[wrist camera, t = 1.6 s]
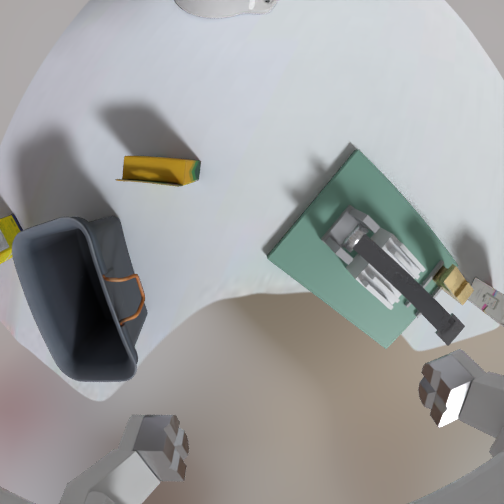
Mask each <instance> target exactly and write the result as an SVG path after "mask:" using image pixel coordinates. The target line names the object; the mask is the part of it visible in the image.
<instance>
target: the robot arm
mask: <svg viewBox="0 0 504 504" xmlns="http://www.w3.org/2000/svg"><path fill="white" fill-rule="evenodd" d="M175 1H176V3H177V4H178V5H179V6H180V7H181V8H182V9H183V10H185V11H186V12H188V13H190V14H193V15H196V16H199V17H204V18H226V17H232V16H236V15H240V14H245V13H251V14H267V13H269V12H270V11H271V10H272V9H273V7H274V6H275V5H276V3H277V2H278V1H279V0H175ZM264 1H269V3H266V2H264ZM422 374H423V375H424V377H423V379H422V380H421V382H420V383H419V389H418V390H419V397H420V400H421V402H422V404H423V405H424V407H426V408H429V409H431V412H430V416H431V417H432V419H433V420H434V422H435V423H436V425H437V426H438V427H440V426H443V425H445V424H447V423H449V422H451V421H454V420H456V419H458V420H460V421H462V422H464V423H466V424H468V425H470V426H472V427H474V428H476V429H478V430H480V431H482V432H484V433H486V434H488V435H491V436H493V437H495V438H496V440H495V442H494V443H493V445H492V446H491V448H490V451H489V452H490V453H491V455H492V456H493V458H492V459H490V460H489V461H487V462H486V463H484V464H483V465H481V466H479V467H478V468H476V469H475V470H473V471H472V472H470V473H468V474H466V475H465V476H463V477H461V478H460V479H458V480H456V481H454V482H452V483H450V484H448V485H447V486H445V487H443V488H441V489H439V490H437V491H434V492H432V493H430V494H428V495H426V496H424V497H422V498H419V499H417V500H415V501H413V502H410V503H408V504H504V375H500V374H497V373H493V372H487V373H486V372H485V371H484V370H483V369H482V368H481V367H480V366H478V364H477V363H475V362H474V360H472V359H471V358H470V357H469V356H468V355H467V354H466V353H465V352H464V351H463V350H461V349H459V350H456V351H454V352H452V353H449V354H448V355H445V356H442V357H440V358H438V359H435V360H433V361H430V362H428V363H425V364H424V366H423V368H422ZM179 424H180V421H179V420H178V418H177V416H176V415H132V416H131V417H130V418H129V420H128V423H127V426H126V428H125V431H124V433H123V436H122V439H121V441H120V444H119V447H118V449H113V450H112V451H111V452H109V453H108V454H107V455H106V456H104V457H103V458H102V459H100V460H99V461H98V462H96V463H95V464H94V465H92V466H91V467H90V468H88V469H87V470H86V471H84V472H83V473H81V474H80V475H79V476H77V477H76V478H74V479H73V480H72V481H70V482H69V483H68V484H67V486H66V488H65V490H64V493H63V495H62V498H61V500H60V503H59V504H142V503H143V501H144V500H145V499H146V498H147V497H148V496H149V495H150V494H151V492H152V491H153V490H154V489H155V488H156V487H157V486H158V484H159V483H160V481H184V480H185V473H186V467H187V466H186V464H185V463H184V461H183V460H184V459H185V458H186V457H187V456H188V453H189V444H188V438H187V435H186V433H185V431H184V430H182V429H181V428H179ZM0 504H36V503H33V502H31V501H29V500H26V499H24V498H22V497H20V496H18V495H16V494H14V493H12V492H10V491H8V490H6V489H4V488H2V487H0Z"/></svg>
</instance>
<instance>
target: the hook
mask: <svg viewBox="0 0 504 504" xmlns="http://www.w3.org/2000/svg"><path fill="white" fill-rule="evenodd" d="M432 280H433V281H434V282H435V284H436V285H437V286H438V287H440V288H441V289H442V290H444V291H445V292H446V293H447V294H449V295H450V296H451V297H453V298H454V299H455V300H456V301H458V302H459V303H460V304H462V305H463V304H464V303H465V302H466V300H467V299H468V298H469V297H470V295H471V294H472V293H473V291H474V290H473V288H472V287H471V285H470V284H469V282H467V281H466V280H465V278H464V277H463V275H462V274H461V272H460V271H459V270H458V268H457V267H456V266H455V265H453V264H452V265H451V266H450V267H449V269H447V268H446V267H444V266H442V267H441V268H440V269H439V271H438V272H437V273H436V275H435V276H434V277H433V278H432Z"/></svg>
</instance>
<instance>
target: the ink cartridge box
mask: <svg viewBox="0 0 504 504" xmlns="http://www.w3.org/2000/svg"><path fill="white" fill-rule="evenodd" d="M471 287H472V288H473V290H474V291H473V293H472V294H471V295H470V297H469V298H468V299H467V300H469V301H470V302H471V303H473V304H474V305H475V306H477V307H478V308H479V309H481V310H482V311H483V312H484V313H486V314H487V315H488V316H490V317H491V318H492V319H493V320H495V321H496V322H497V323H499V324H500V325H502V326H503V327H504V294H502V293H500V292H499V291H497V290H495V289H494V288H492V287H491V286H489V285H487V284H486V283H484V282H483V281H481V280H479V279H478V278H476V277H475V279H474V281H473V283H472V285H471Z"/></svg>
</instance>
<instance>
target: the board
mask: <svg viewBox="0 0 504 504" xmlns="http://www.w3.org/2000/svg"><path fill="white" fill-rule="evenodd" d="M359 223H361V224H362V225H363V226H364V227H365V228H366V229H367V230H368V233H367V234H366V235H367V236H368V237H369V238H370V239H372V240H373V241H374V242H375V243H376V244H377V245H378V246H379V247H381V248H382V249H383V250H384V251H385V252H386V253H387V254H388V255H389V256H390V257H392V258H393V259H394V260H395V261H396V262H397V263H398V264H399V265H400V266H401V267H402V268H403V269H404V270H405V271H406V272H408V273H409V274H410V275H411V276H412V277H413V278H414V279H415V280H416V281H417V282H418V283H419V284H420V285H421V286H422V287H423V288H424V289H425V290H426V291H427V292H428V293H429V294H430V295H431V296H432V297H433V298H435V297H436V296H437V295H438V294H439V292H440V291H441V290H442V289H441V288H440V287H438V286H437V285H436V284H435V282H434V281H433V280H432V278H433V277H434V276H435V275H436V273H437V272H438V271H439V269H440V268H441V267H442V266H444V267H446V268H447V269H449V267H450V266H451V265H452V264H453V265H455V266H456V267H457V266H458V265H457V263H456V262H455V260H454V259H453V258H452V256H451V255H450V254H449V252H448V251H447V249H446V248H445V247H444V245H443V244H442V243H441V242H440V240H439V239H438V238H437V236H436V235H435V234H434V233H433V231H432V230H431V229H430V227H429V226H428V225H427V224H426V223H425V221H424V220H423V219H422V218H421V216H420V215H419V214H418V213H417V212H416V211H415V209H414V208H413V207H412V206H411V205H410V204H409V202H408V201H407V200H406V199H405V198H404V197H403V196H402V194H401V193H400V192H399V191H398V190H397V189H396V188H395V187H394V186H393V185H392V183H391V182H390V181H389V180H388V179H387V178H386V177H385V176H384V175H383V174H382V173H381V172H380V171H379V170H378V169H377V168H376V167H375V166H374V165H373V164H372V163H371V162H370V161H369V160H368V159H367V158H366V157H365V156H364V155H363V154H362V153H361V152H360V151H359V150H355V151H354V152H353V153H352V155H351V156H350V157H349V158H348V160H347V161H346V162H345V163H344V164H343V166H342V167H341V168H340V169H339V171H338V172H337V173H336V174H335V175H334V177H333V178H332V179H331V180H330V181H329V183H328V184H327V185H326V186H325V187H324V189H323V190H322V191H321V192H320V194H319V195H318V196H317V197H316V198H315V200H314V201H313V202H312V203H311V204H310V206H309V207H308V208H307V209H306V210H305V212H304V213H303V214H302V215H301V216H300V218H299V219H298V220H297V221H296V222H295V224H294V225H293V226H292V227H291V228H290V230H289V231H288V232H287V233H286V234H285V236H284V237H283V238H282V239H281V240H280V241H279V243H278V244H277V245H276V246H275V247H274V249H273V250H272V251H271V252H270V253H269V255H268V256H267V258H268V260H270V261H271V262H272V263H274V264H275V265H276V266H278V267H279V268H280V269H282V270H283V271H284V272H286V273H287V274H288V275H290V276H291V277H292V278H293V279H295V280H296V281H297V282H299V283H300V284H301V285H303V286H304V287H305V288H307V289H308V290H309V291H311V292H312V293H313V294H315V295H316V296H317V297H319V298H320V299H321V300H322V301H324V302H325V303H326V304H328V305H329V306H330V307H332V308H333V309H334V310H336V311H337V312H338V313H340V314H341V315H342V316H343V317H345V318H346V319H347V320H349V321H350V322H351V323H353V324H354V325H355V326H357V327H358V328H359V329H360V330H362V331H363V332H364V333H366V334H367V335H368V336H370V337H371V338H372V339H374V340H375V341H376V342H378V343H379V344H380V345H381V346H383V347H384V348H388V347H389V346H390V345H391V344H392V342H394V341H395V339H396V338H397V337H398V336H399V335H400V334H401V333H402V332H403V331H404V330H405V329H406V328H407V327H408V326H409V325H410V323H411V322H412V321H413V320H414V319H415V318H416V317H417V318H418V317H419V316H420V315H421V313H420V312H419V311H418V310H417V309H416V308H415V307H414V306H413V305H412V304H411V303H410V302H409V301H408V300H407V299H406V298H405V297H404V296H403V295H402V294H401V293H400V292H399V291H398V290H397V289H396V288H395V287H394V286H393V285H392V284H391V283H389V282H388V281H387V280H386V279H385V278H384V277H383V276H382V275H381V274H380V273H379V272H378V271H377V270H376V269H375V268H374V267H372V266H371V265H370V264H369V263H368V262H367V261H366V260H365V259H364V258H363V257H362V256H360V255H359V254H358V253H357V252H356V251H355V250H354V249H353V251H352V252H351V253H350V252H349V251H348V250H347V249H346V248H344V247H343V246H342V245H341V244H342V243H343V242H344V240H345V239H346V238H347V237H348V236H349V235H350V233H351V232H352V231H353V230H354V229H355V227H356V226H357V225H358V224H359Z"/></svg>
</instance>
